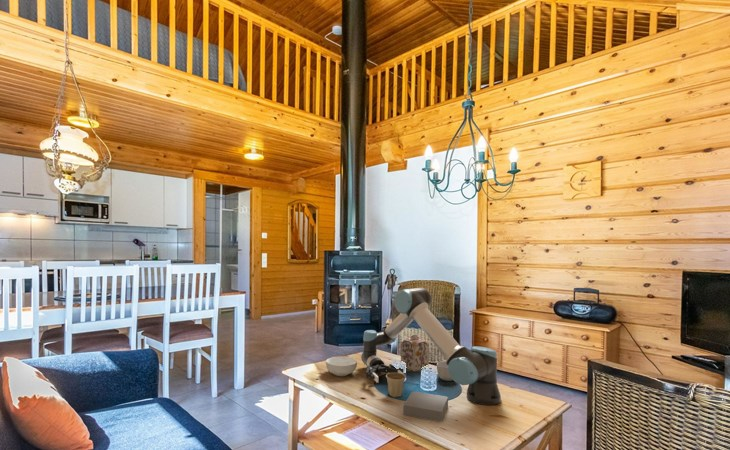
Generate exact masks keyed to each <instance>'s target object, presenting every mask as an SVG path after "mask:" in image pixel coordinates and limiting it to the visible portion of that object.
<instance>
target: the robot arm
mask: <svg viewBox="0 0 730 450" xmlns="http://www.w3.org/2000/svg"><path fill="white" fill-rule="evenodd" d="M394 297H395V298H394V307H395V309H396V311H397V312H398V313H399V314H398V315H397V316H396V317H395V318H394V319H393V320H392V321H391V322H390V323H389V324H388V325H387V327H385V328H384V330H382V331H379V332H377V331H376V330H374V329H367V330H365V331H364V332H363V338H362V339H363V348H362V349H363V350H362V352H361V355H360V359H361V361H362V363H363V364H364V366H366V370H365V371H366V372H365V378H366V379H368V378H369V380H374V381H375V382H376V384H377V383H378V384H379V383H380V382H379V381H380V380H379V376H378V375H379V374H381V373H383V374H388V373H401V374H404V375H405V376H406V374H405V373H404V368H402V369H401V367H399V369H396V368H395V367H394V366H395V365H393V364H391V363H388V364H389V365H387V364H385V362H384V361H383V360H382V359H381V358H380V357H378V356H377V351H378V350H377V348H378V347H382V346H385V345H391V344H392V343H395V342H396V340H397V336H399V335H400V334H401V333H402V331H405V329H406V328H407V327H408V326H409V325H410V324H411V323H412V322H413V321H415V322H416V323H417V325H418V326H419V327H420V328H421V329H422V332H424V333H425V334H426V336H427V337H428V338H429V340H431V342H432V343H433V344H434V345H435V347H436V348H437V349H438V350H439V351H440V352H441V354H442V355H443V356H444V357H445V360H446V364H447V365H448V370H449V375H450V377H451V378H452V379H453V380H452V381H454V383H457V384H458V385H461V386H467V389H466V398H467V399H468V401H471V402H473V403H475V404H479V405H483V406H495V405H498V404H499V403H501V400H502V399H501V398H502V396H501V392H500V389H499V386H498V380H497V379H498V378H497V377H498V356H497V351H496V350H494V349H493V348H489V347H485V346H478V345H477V346H476V345H475V346H471V347H470V350H469V349H468V348H467V346H465V345H464V346H463V345H460V344H459V343H458V342H457V340H456V339H455V338H454V337H453V336H452V335H451V333H450V332H449V331H448V330H447V329H446V328H445V327H444V325H443V324H442V323H441V322H440V321H439V320H438V319H437V317H436V315H434V314H433V313H432V311H430V309H429V308H430V307H431V305H432V302H433V298H432V294H431V293H430V291H429V290H427V289H426V288H424V287H415V288H414V287H413V288H405V289H401V290H398V291H397V293H396V294H395V296H394Z"/></svg>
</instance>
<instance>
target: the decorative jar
mask: <svg viewBox="0 0 730 450" xmlns="http://www.w3.org/2000/svg"><path fill="white" fill-rule="evenodd" d="M429 346H430V345H429V343H428V342H427V341H426V339H424V338H422V337H420V336H419V335H418V334H411V335H410V336H408V337H405V338H404V339H403V340H402V341H401V343H400V362H401V361H403V362H405V363H406V367H407V368H406V369H408V370H409V371H412V372H417V371H422V370H421V368H422V367H424V366H426V365H428V366H429V357H430V355H429V354H430V353H429V352H430V351H429Z"/></svg>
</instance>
